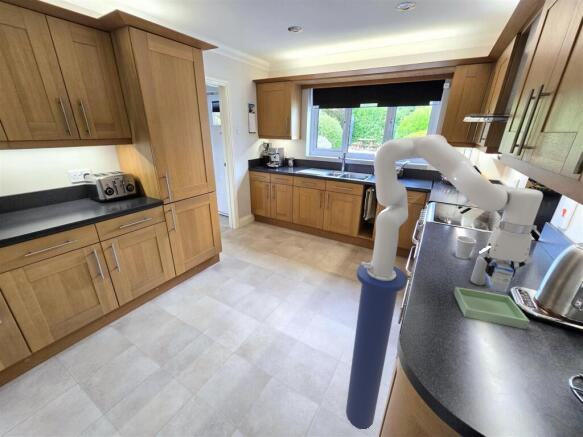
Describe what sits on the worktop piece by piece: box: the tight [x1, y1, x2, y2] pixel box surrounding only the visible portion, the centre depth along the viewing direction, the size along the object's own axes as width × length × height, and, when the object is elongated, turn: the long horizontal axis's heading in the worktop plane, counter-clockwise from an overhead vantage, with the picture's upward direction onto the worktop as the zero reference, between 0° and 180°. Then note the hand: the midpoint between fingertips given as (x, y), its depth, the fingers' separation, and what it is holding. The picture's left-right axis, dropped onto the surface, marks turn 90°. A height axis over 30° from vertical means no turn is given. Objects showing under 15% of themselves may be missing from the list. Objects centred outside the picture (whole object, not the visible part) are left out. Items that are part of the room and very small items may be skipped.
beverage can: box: [470, 255, 487, 286], centre depth 102 cm, size 5×5×12 cm
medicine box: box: [485, 259, 514, 293], centre depth 83 cm, size 8×4×9 cm, turn 154°
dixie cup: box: [455, 235, 477, 260], centre depth 125 cm, size 8×8×10 cm
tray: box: [453, 286, 530, 330], centre depth 88 cm, size 18×14×3 cm
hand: (498, 275), depth 83 cm, fingers closed on medicine box, 4 cm apart
